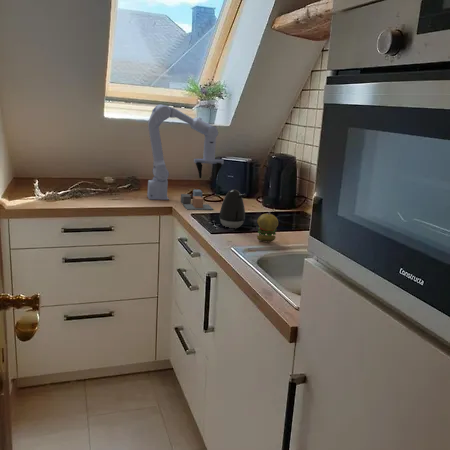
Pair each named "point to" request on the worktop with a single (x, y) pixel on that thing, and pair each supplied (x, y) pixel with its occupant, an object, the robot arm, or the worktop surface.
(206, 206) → the slate mat
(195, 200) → the terracotta brick
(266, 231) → the hamburger
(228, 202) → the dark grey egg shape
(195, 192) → the dusty-blue brick
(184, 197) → the charcoal brick
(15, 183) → the worktop surface
